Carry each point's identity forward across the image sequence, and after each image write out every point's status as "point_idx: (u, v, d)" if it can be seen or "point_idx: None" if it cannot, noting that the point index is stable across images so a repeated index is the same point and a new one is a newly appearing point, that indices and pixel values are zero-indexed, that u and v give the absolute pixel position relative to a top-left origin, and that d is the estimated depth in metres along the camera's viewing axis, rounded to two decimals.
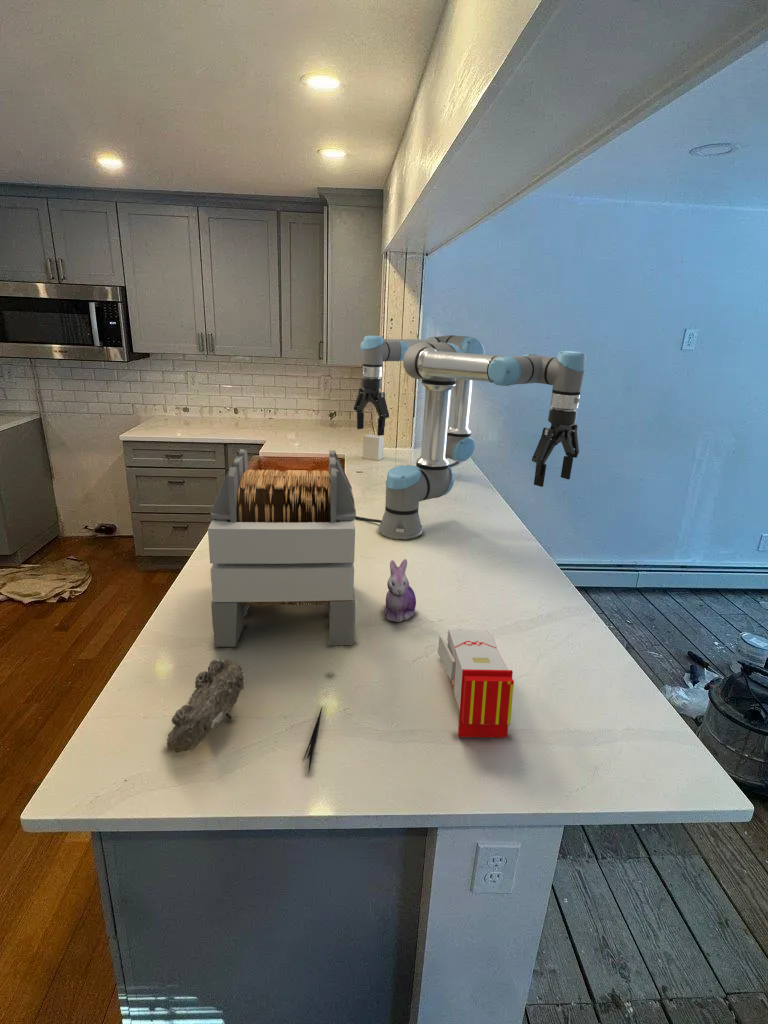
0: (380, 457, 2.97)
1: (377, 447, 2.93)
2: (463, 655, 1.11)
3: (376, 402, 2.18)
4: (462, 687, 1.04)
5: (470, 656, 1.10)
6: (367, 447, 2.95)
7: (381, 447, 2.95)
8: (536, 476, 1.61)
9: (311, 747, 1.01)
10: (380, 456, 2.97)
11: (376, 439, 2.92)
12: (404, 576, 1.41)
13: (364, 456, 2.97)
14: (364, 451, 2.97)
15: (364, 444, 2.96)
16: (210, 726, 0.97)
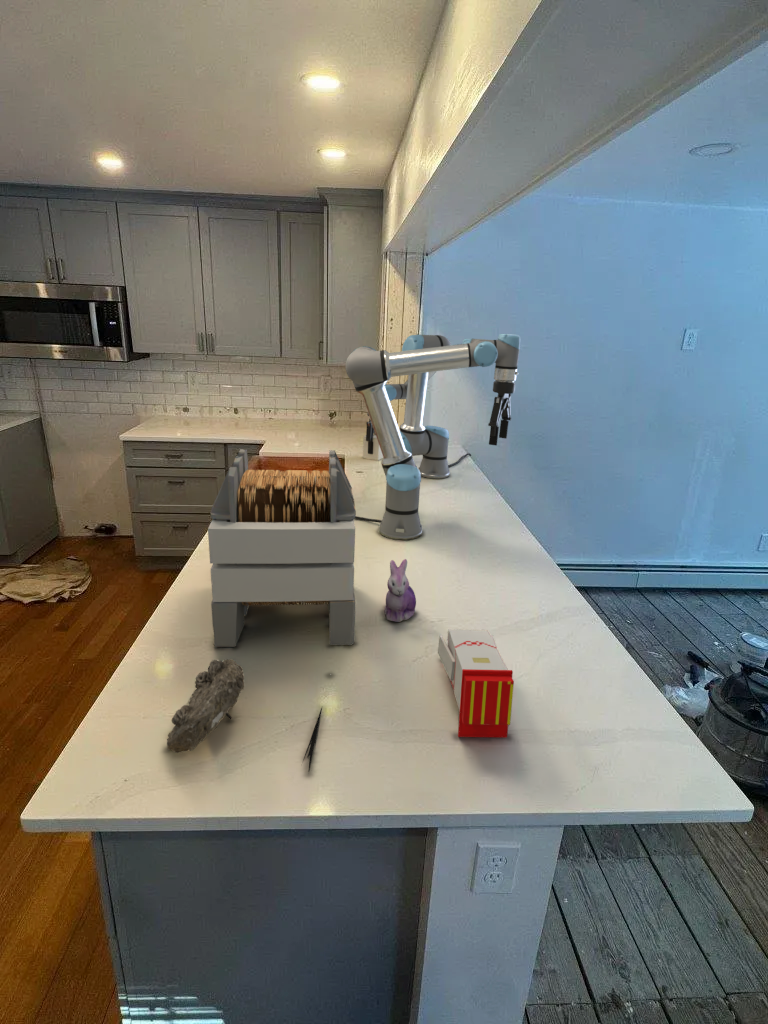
0: (380, 457, 2.97)
1: (377, 447, 2.93)
2: (463, 655, 1.11)
3: None
4: (462, 687, 1.04)
5: (470, 656, 1.10)
6: (367, 447, 2.95)
7: None
8: (491, 437, 1.96)
9: (311, 747, 1.01)
10: (380, 456, 2.97)
11: (376, 439, 2.92)
12: (404, 576, 1.41)
13: (364, 456, 2.97)
14: (364, 451, 2.97)
15: (364, 444, 2.96)
16: (210, 726, 0.97)
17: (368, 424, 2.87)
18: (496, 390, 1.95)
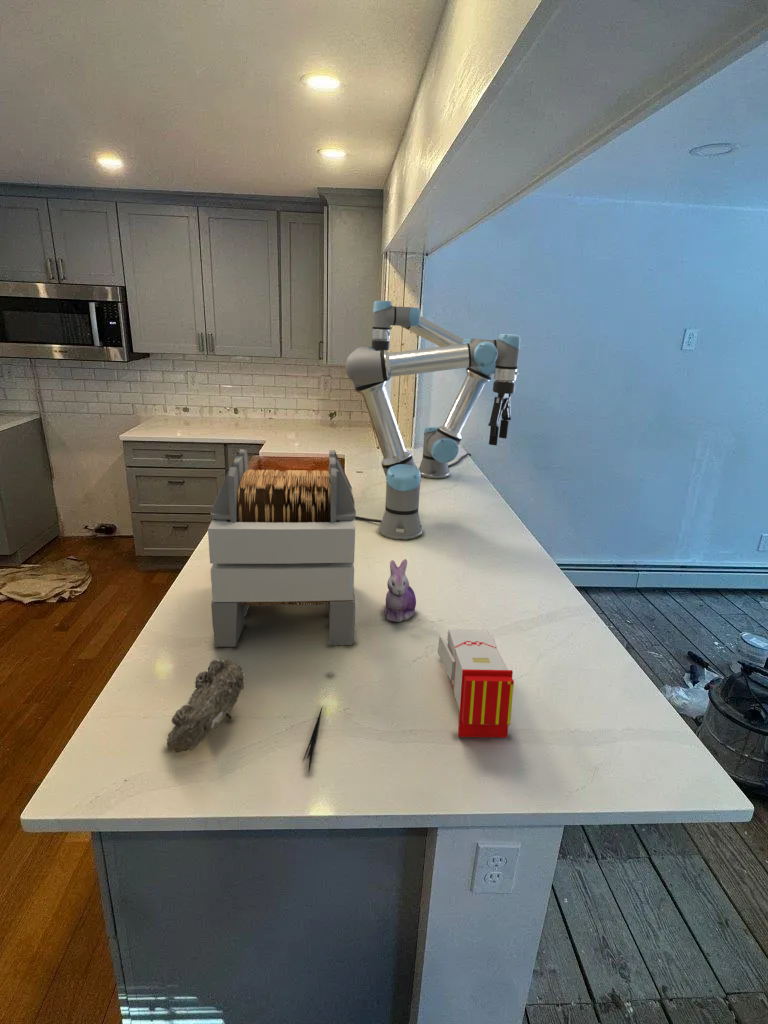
0: None
1: None
2: (463, 655, 1.11)
3: None
4: (462, 687, 1.04)
5: (470, 656, 1.10)
6: None
7: (388, 388, 2.41)
8: (491, 437, 1.96)
9: (311, 747, 1.01)
10: None
11: None
12: (404, 576, 1.41)
13: None
14: None
15: None
16: (210, 726, 0.97)
17: None
18: (496, 390, 1.95)
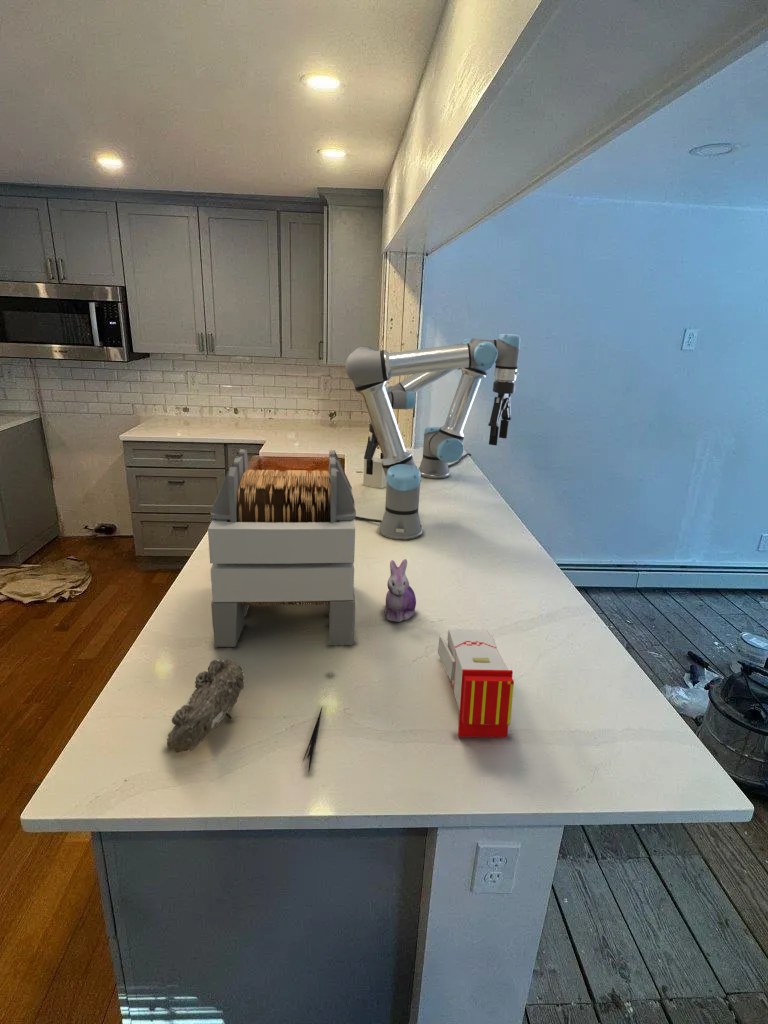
0: (384, 484, 2.51)
1: (380, 473, 2.47)
2: (463, 655, 1.11)
3: None
4: (462, 687, 1.04)
5: (470, 656, 1.10)
6: None
7: None
8: (491, 437, 1.96)
9: (311, 747, 1.01)
10: (384, 483, 2.51)
11: (379, 464, 2.46)
12: (404, 576, 1.41)
13: (365, 483, 2.52)
14: (365, 477, 2.51)
15: (365, 469, 2.50)
16: (210, 726, 0.97)
17: (370, 439, 2.40)
18: (496, 390, 1.95)
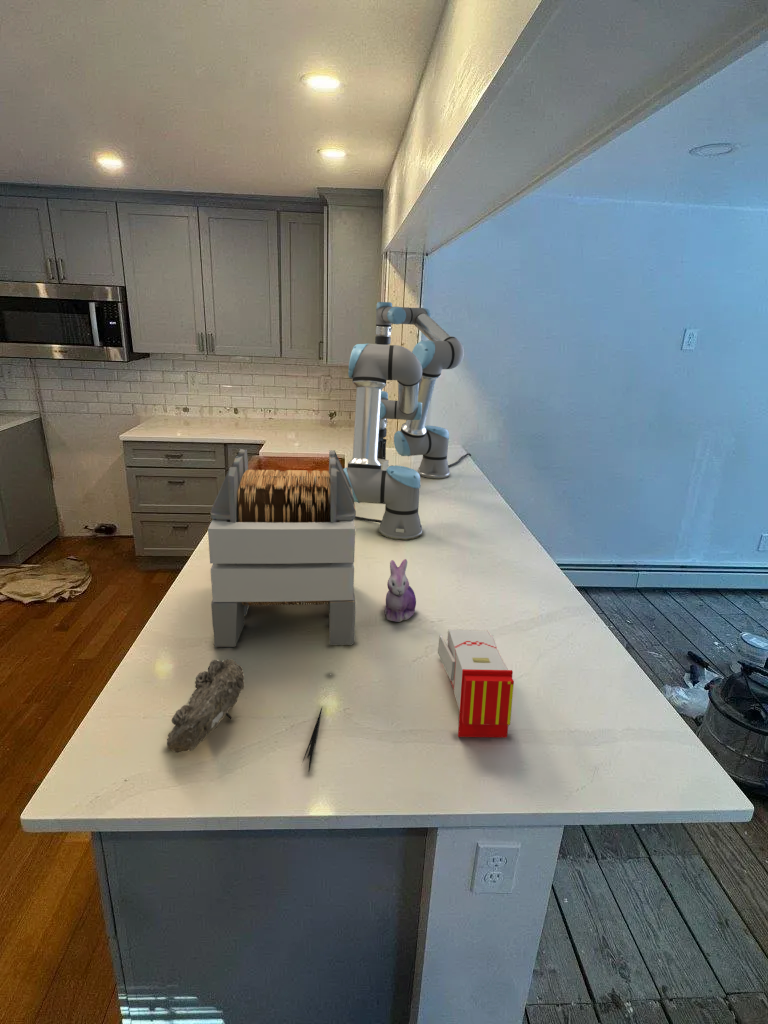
0: None
1: None
2: (463, 655, 1.11)
3: None
4: (462, 687, 1.04)
5: (470, 656, 1.10)
6: None
7: None
8: None
9: (311, 747, 1.01)
10: None
11: None
12: (404, 576, 1.41)
13: None
14: None
15: None
16: (210, 726, 0.97)
17: None
18: None
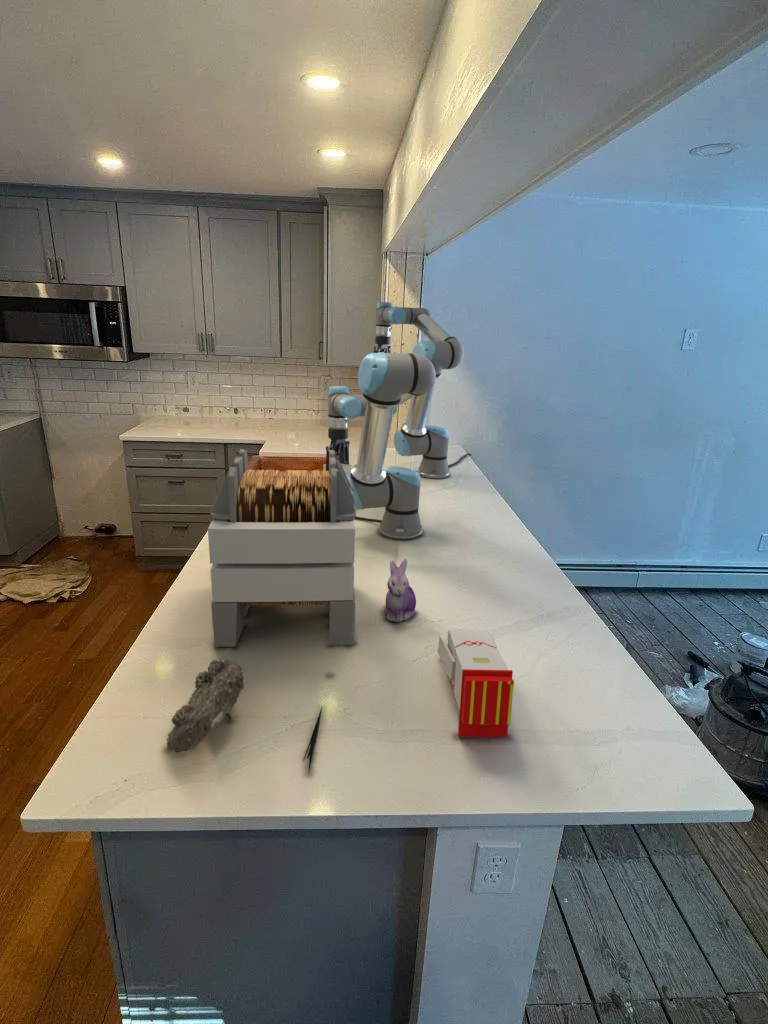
0: None
1: None
2: (463, 655, 1.11)
3: None
4: (462, 687, 1.04)
5: (470, 656, 1.10)
6: None
7: None
8: None
9: (311, 747, 1.01)
10: None
11: None
12: (404, 576, 1.41)
13: None
14: None
15: None
16: (210, 726, 0.97)
17: (376, 348, 2.71)
18: (329, 436, 2.13)
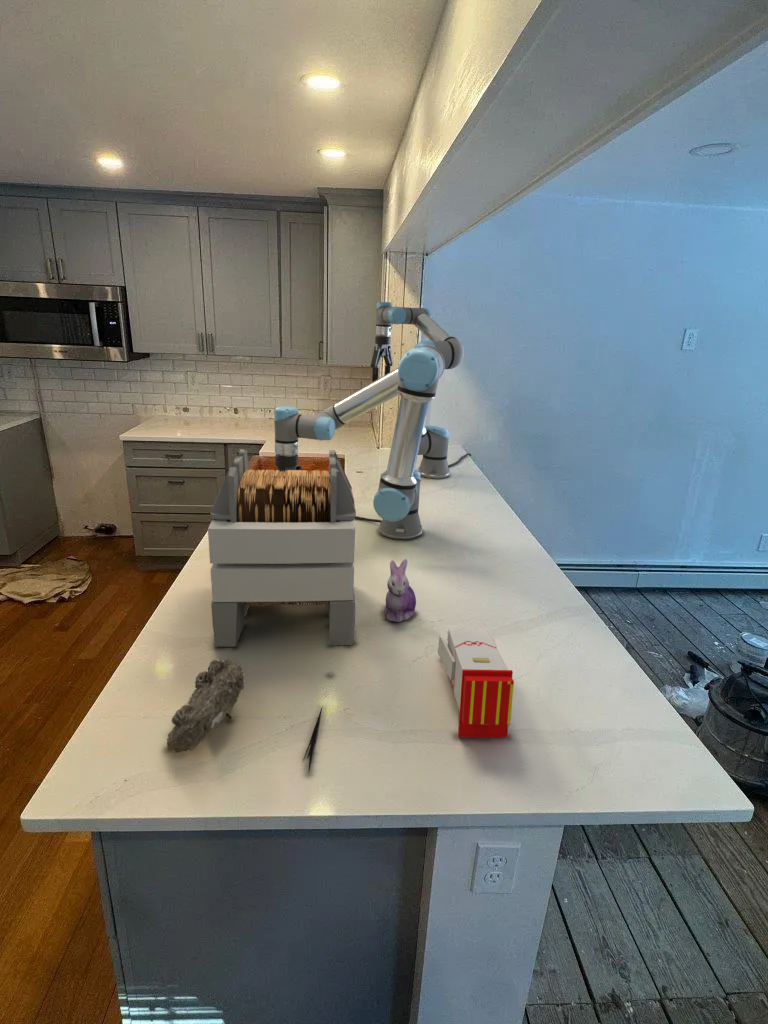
0: None
1: None
2: (463, 655, 1.11)
3: None
4: (462, 687, 1.04)
5: (470, 656, 1.10)
6: None
7: None
8: None
9: (311, 747, 1.01)
10: None
11: None
12: (404, 576, 1.41)
13: None
14: None
15: None
16: (210, 726, 0.97)
17: (376, 348, 2.71)
18: (276, 464, 1.86)
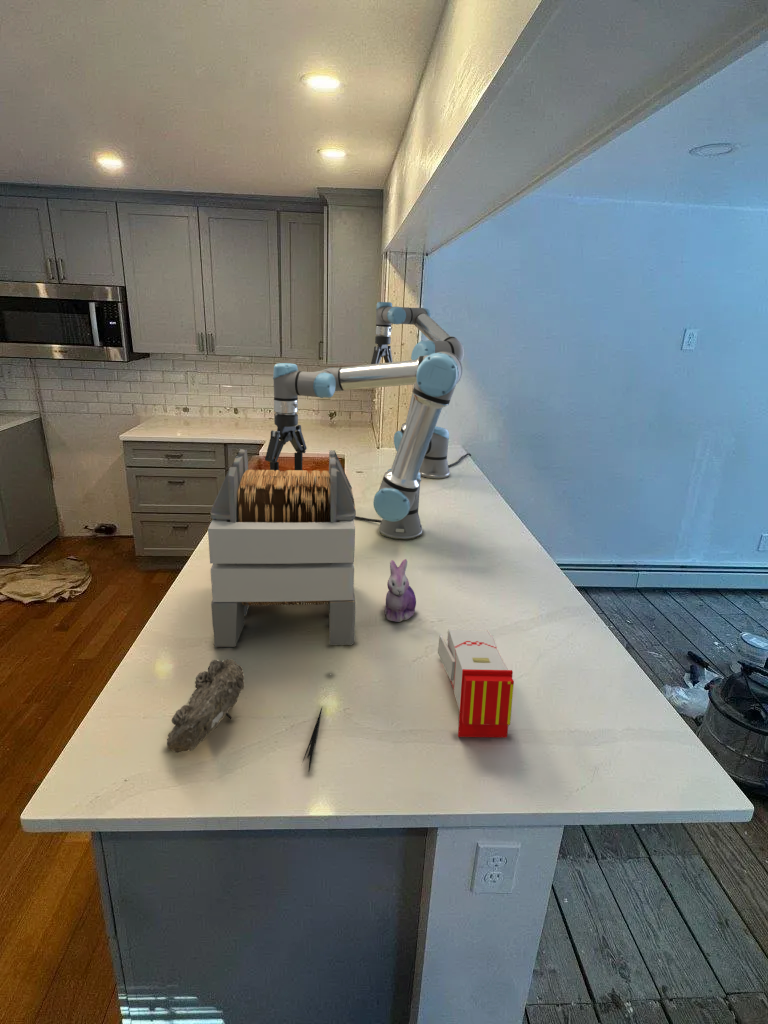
0: None
1: None
2: (463, 655, 1.11)
3: None
4: (462, 687, 1.04)
5: (470, 656, 1.10)
6: None
7: None
8: None
9: (311, 747, 1.01)
10: None
11: None
12: (404, 576, 1.41)
13: None
14: None
15: None
16: (210, 726, 0.97)
17: (376, 348, 2.71)
18: (275, 423, 1.82)
